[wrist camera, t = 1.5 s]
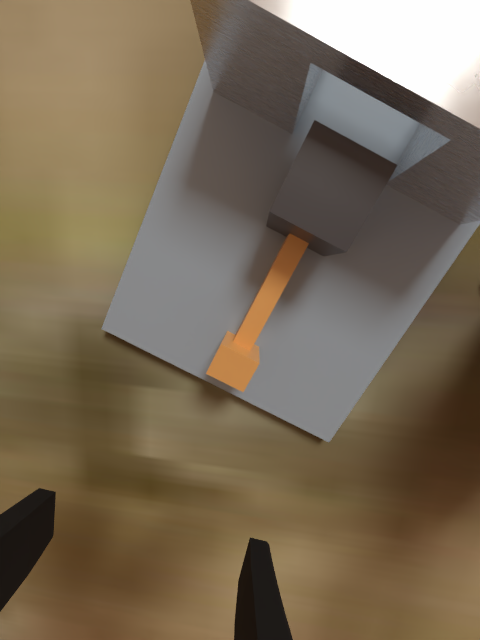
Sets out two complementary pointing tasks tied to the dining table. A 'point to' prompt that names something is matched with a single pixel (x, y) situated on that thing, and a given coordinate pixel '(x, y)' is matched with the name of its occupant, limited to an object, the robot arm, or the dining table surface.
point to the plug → (306, 230)
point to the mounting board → (261, 250)
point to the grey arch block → (363, 76)
